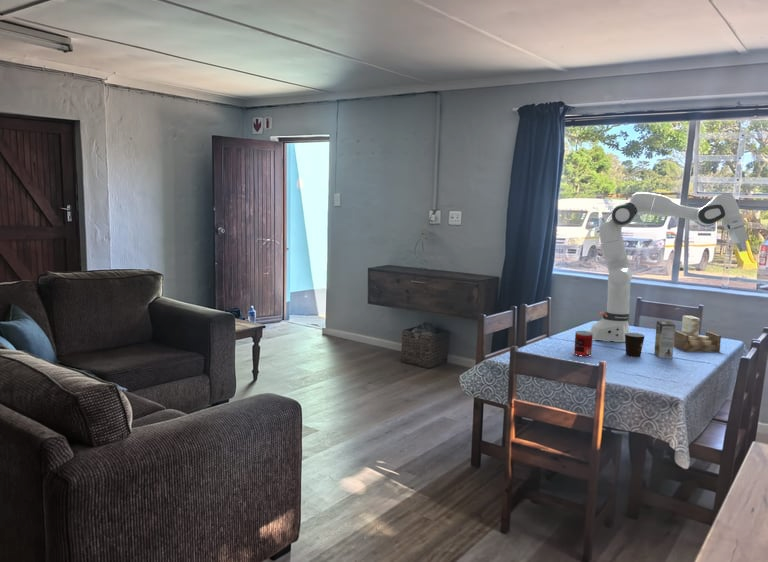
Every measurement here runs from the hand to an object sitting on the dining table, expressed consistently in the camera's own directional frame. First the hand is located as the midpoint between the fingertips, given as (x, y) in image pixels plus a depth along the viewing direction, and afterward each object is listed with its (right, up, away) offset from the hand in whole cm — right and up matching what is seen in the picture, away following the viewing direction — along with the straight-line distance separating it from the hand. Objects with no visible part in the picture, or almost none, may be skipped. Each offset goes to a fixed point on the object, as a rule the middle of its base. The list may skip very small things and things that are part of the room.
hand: (743, 251), depth 280 cm
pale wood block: (-18, -48, +16) cm, 54 cm away
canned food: (-81, -50, -8) cm, 96 cm away
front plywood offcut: (-18, -49, +6) cm, 53 cm away
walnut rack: (-18, -49, +9) cm, 53 cm away
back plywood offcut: (-18, -49, +9) cm, 53 cm away
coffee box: (-42, -50, -6) cm, 66 cm away
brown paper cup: (-55, -50, -5) cm, 75 cm away
